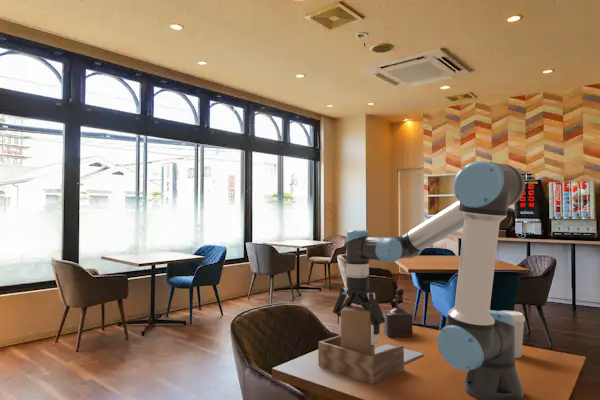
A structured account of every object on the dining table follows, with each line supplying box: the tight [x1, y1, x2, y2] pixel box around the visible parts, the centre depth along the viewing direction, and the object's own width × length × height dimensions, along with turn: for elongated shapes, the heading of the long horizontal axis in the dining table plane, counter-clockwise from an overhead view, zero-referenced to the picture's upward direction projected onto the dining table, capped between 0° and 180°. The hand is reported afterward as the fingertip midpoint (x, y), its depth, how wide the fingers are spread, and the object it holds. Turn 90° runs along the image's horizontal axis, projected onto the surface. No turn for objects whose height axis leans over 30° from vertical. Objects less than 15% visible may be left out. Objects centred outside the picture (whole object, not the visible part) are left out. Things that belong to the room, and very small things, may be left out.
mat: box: [375, 343, 424, 365], centre depth 155 cm, size 16×13×1 cm
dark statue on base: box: [382, 287, 414, 339], centre depth 184 cm, size 16×11×18 cm
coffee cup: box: [499, 310, 526, 359], centre depth 153 cm, size 10×10×15 cm
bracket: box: [317, 335, 405, 385], centre depth 142 cm, size 23×17×8 cm
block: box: [341, 304, 376, 356], centre depth 143 cm, size 10×10×20 cm
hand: (357, 339), depth 142 cm, fingers closed on block, 13 cm apart
